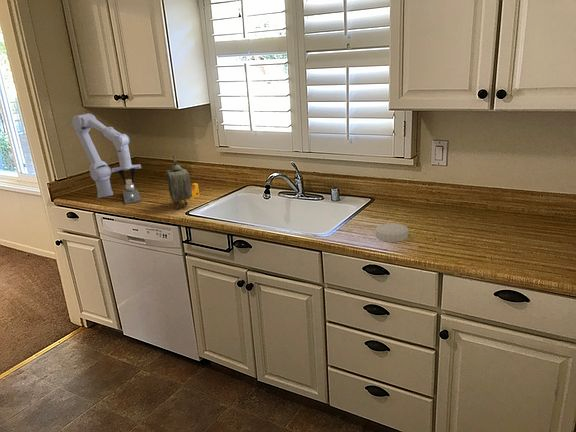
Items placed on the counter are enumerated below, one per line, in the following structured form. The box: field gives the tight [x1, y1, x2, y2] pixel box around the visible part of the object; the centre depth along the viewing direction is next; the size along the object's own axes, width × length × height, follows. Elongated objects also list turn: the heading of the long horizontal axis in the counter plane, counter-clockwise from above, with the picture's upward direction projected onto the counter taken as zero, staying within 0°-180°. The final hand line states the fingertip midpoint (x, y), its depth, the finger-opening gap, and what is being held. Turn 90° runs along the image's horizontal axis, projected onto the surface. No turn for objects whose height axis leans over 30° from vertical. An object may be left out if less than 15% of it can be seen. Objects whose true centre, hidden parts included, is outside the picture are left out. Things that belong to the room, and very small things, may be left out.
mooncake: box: [375, 222, 409, 243], centre depth 177 cm, size 12×12×4 cm
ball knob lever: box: [124, 178, 136, 192], centre depth 248 cm, size 15×4×3 cm, turn 21°
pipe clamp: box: [180, 182, 200, 203], centre depth 241 cm, size 12×4×6 cm, turn 143°
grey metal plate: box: [122, 189, 142, 205], centre depth 250 cm, size 23×8×4 cm, turn 21°
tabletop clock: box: [165, 154, 192, 210], centre depth 227 cm, size 14×9×25 cm, turn 21°
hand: (129, 183), depth 248 cm, fingers closed on ball knob lever, 3 cm apart
